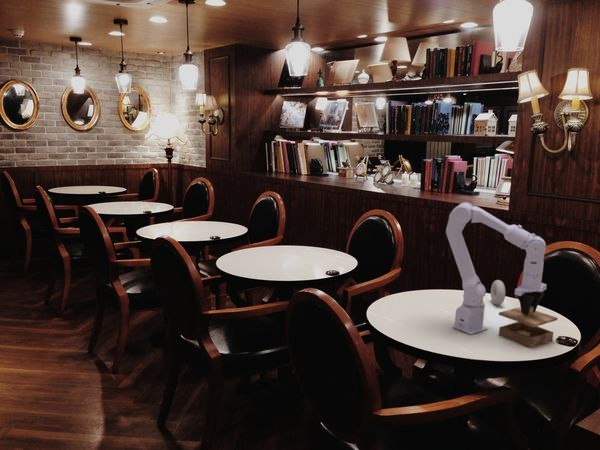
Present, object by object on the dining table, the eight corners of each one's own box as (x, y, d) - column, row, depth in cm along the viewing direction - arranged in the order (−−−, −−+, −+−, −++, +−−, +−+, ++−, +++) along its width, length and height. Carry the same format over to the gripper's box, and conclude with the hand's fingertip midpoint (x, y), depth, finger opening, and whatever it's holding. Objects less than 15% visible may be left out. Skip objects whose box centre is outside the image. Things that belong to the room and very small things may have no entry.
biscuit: (525, 338, 179) (525, 335, 179) (513, 334, 183) (513, 331, 183) (532, 335, 182) (533, 333, 181) (521, 331, 185) (521, 328, 185)
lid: (533, 327, 168) (535, 315, 168) (498, 314, 179) (499, 304, 178) (557, 320, 176) (558, 309, 175) (522, 308, 186) (523, 298, 186)
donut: (505, 309, 207) (507, 284, 205) (496, 308, 207) (498, 283, 206) (497, 300, 217) (499, 277, 215) (488, 300, 217) (490, 276, 215)
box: (530, 348, 171) (531, 339, 170) (498, 335, 180) (499, 326, 180) (552, 340, 177) (553, 332, 176) (520, 328, 187) (521, 320, 186)
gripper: (530, 279, 167) (525, 320, 170) (556, 273, 175) (551, 313, 178) (510, 274, 173) (506, 313, 176) (537, 268, 181) (532, 306, 184)
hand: (528, 313), depth 177 cm, fingers closed on lid, 3 cm apart
